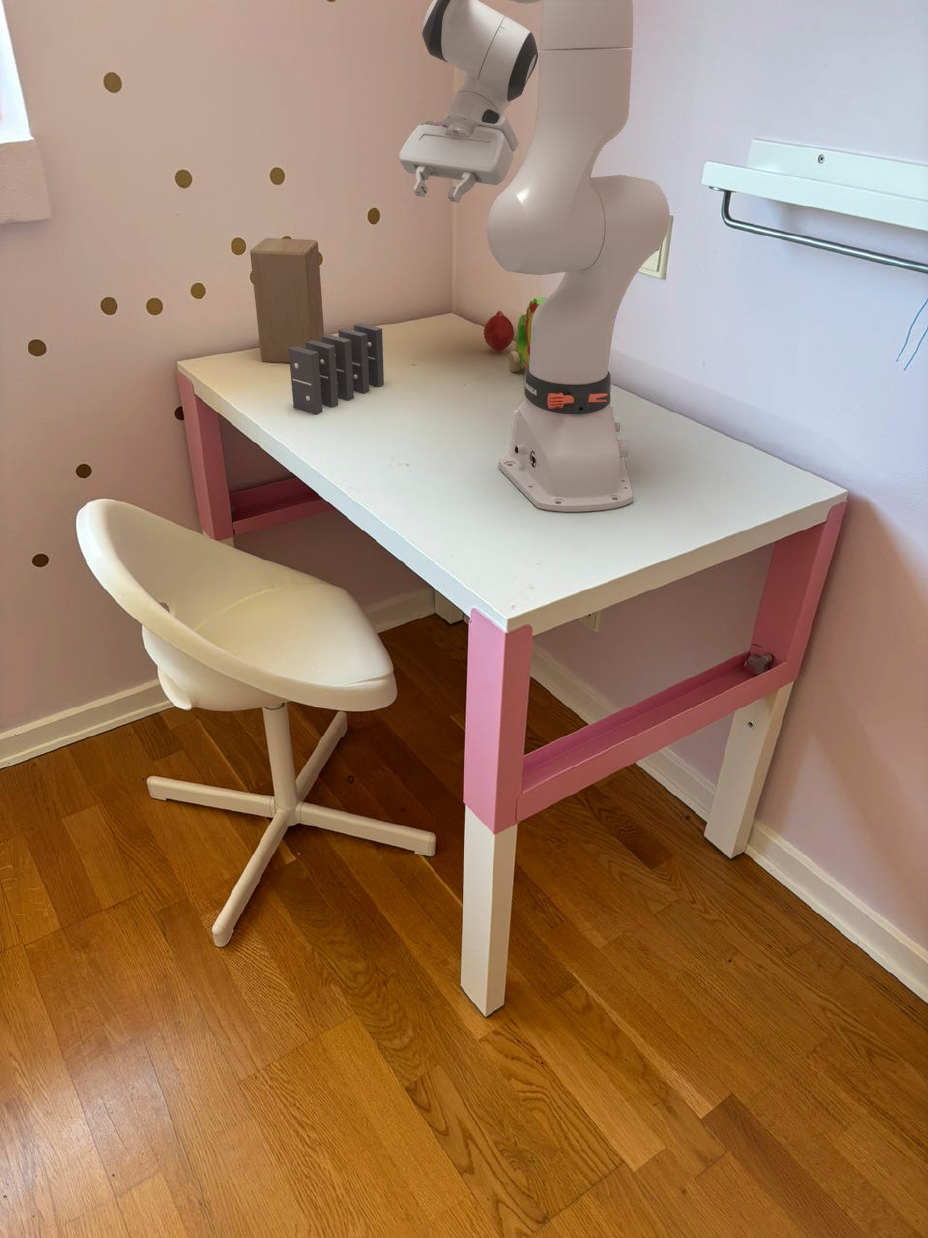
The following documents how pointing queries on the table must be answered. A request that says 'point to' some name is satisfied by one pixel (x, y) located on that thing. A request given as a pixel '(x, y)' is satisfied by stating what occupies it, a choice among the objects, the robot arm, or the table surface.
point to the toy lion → (524, 338)
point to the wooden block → (286, 295)
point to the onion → (498, 332)
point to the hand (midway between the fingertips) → (435, 196)
